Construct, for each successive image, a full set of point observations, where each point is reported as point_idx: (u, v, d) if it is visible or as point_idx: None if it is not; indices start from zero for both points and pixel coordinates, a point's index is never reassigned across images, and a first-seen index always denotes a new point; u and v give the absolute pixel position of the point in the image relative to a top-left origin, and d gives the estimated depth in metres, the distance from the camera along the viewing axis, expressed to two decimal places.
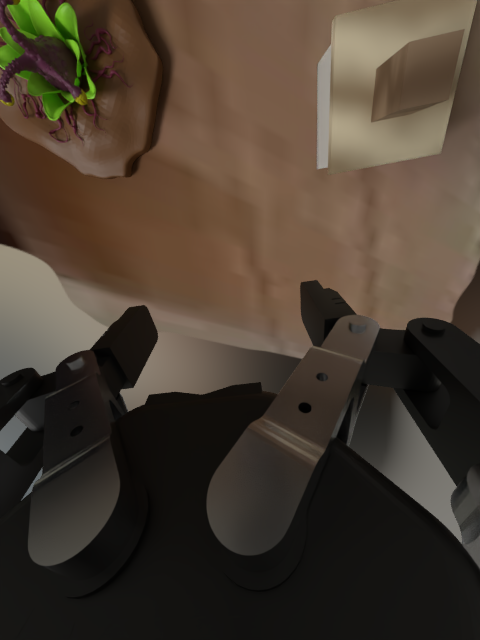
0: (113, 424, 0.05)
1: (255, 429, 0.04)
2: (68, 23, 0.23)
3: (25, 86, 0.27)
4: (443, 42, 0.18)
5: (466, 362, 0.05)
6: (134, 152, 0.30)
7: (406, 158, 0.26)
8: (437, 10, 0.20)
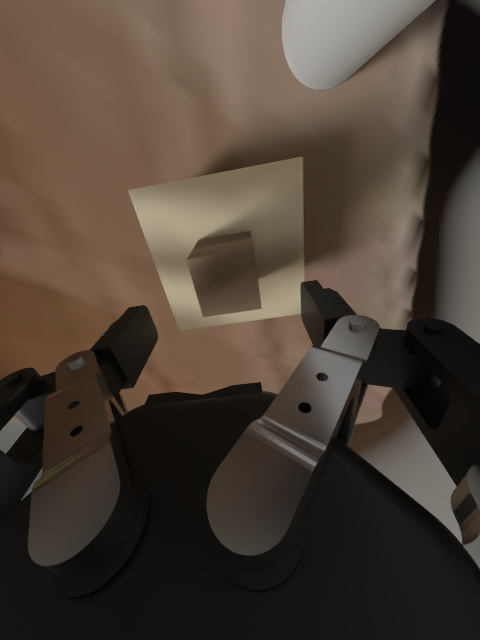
0: (113, 424, 0.05)
1: (255, 429, 0.04)
2: None
3: None
4: (231, 260, 0.13)
5: (466, 362, 0.05)
6: None
7: (266, 317, 0.21)
8: (255, 186, 0.16)
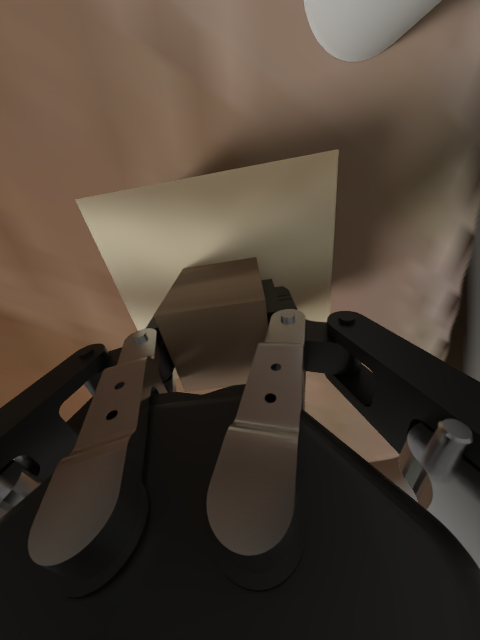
0: (144, 418, 0.05)
1: (255, 429, 0.04)
2: None
3: None
4: (228, 316, 0.08)
5: (378, 343, 0.06)
6: None
7: None
8: (265, 194, 0.11)
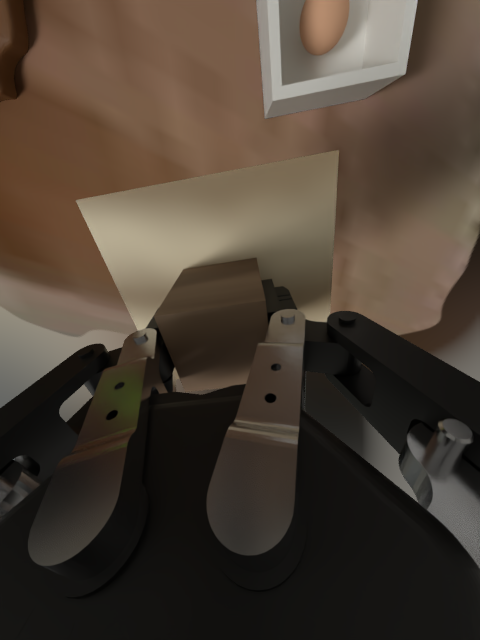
0: (144, 417, 0.05)
1: (255, 429, 0.04)
2: None
3: None
4: (228, 317, 0.08)
5: (378, 343, 0.06)
6: (1, 48, 0.21)
7: None
8: (265, 194, 0.11)
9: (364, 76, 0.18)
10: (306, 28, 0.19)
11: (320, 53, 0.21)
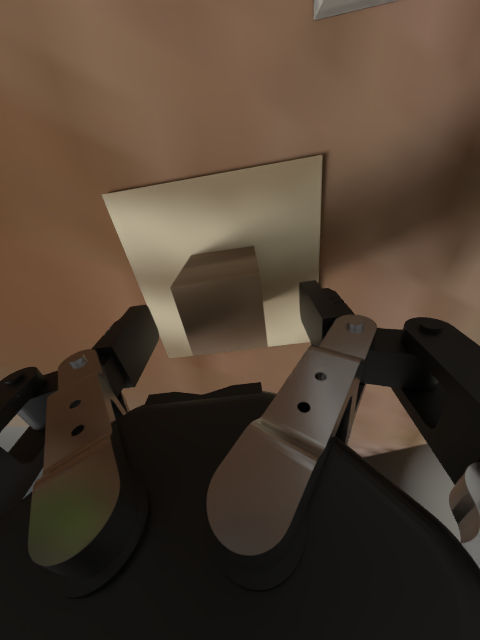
0: (114, 424, 0.05)
1: (255, 429, 0.04)
2: None
3: None
4: (230, 289, 0.10)
5: (463, 361, 0.05)
6: None
7: (270, 345, 0.18)
8: (261, 191, 0.13)
9: None
10: None
11: None
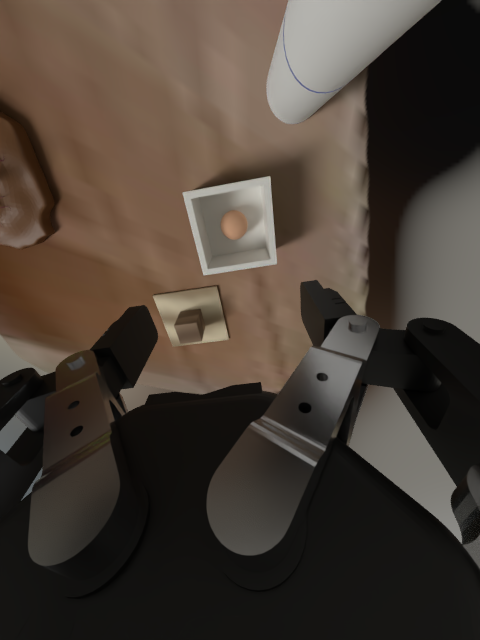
0: (113, 424, 0.05)
1: (255, 429, 0.04)
2: None
3: None
4: (189, 326, 0.40)
5: (466, 362, 0.05)
6: (41, 211, 0.33)
7: (211, 341, 0.47)
8: (200, 294, 0.42)
9: (253, 265, 0.32)
10: (223, 232, 0.33)
11: None
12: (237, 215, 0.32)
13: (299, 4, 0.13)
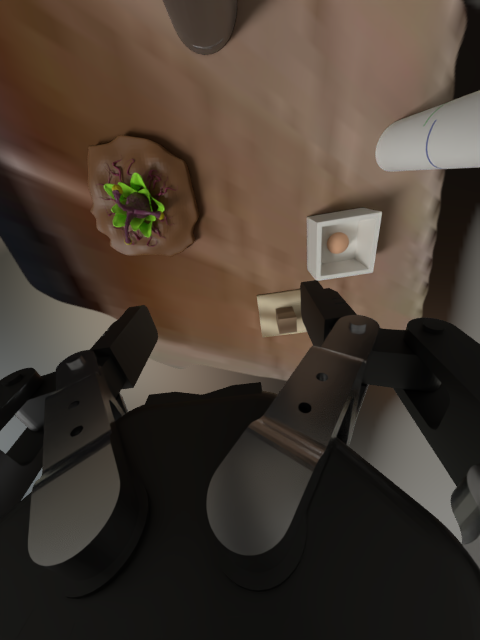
0: (113, 424, 0.05)
1: (255, 429, 0.04)
2: (137, 181, 0.38)
3: None
4: (290, 319, 0.51)
5: (466, 362, 0.05)
6: (193, 224, 0.44)
7: None
8: (295, 295, 0.53)
9: (355, 273, 0.43)
10: (330, 248, 0.44)
11: None
12: (344, 236, 0.43)
13: (460, 138, 0.24)
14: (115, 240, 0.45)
